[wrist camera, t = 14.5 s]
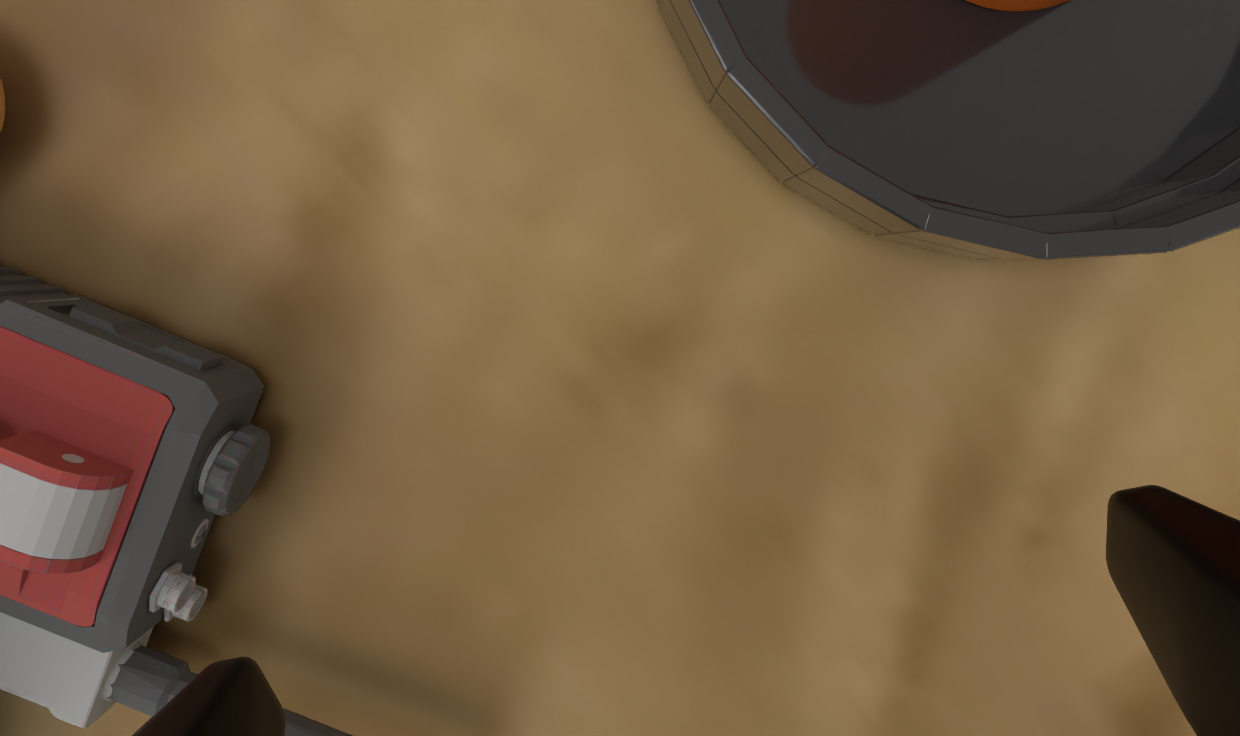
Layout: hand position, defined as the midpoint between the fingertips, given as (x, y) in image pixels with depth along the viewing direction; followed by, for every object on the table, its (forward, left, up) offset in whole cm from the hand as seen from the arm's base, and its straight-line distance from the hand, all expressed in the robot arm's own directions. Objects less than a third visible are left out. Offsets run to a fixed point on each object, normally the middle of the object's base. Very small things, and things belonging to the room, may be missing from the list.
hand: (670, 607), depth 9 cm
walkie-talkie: (+6, +11, -12) cm, 18 cm away
